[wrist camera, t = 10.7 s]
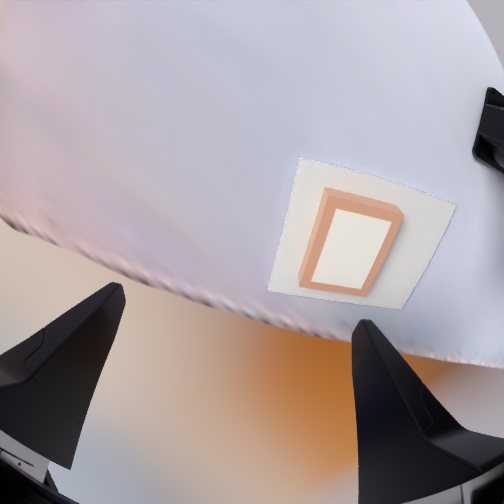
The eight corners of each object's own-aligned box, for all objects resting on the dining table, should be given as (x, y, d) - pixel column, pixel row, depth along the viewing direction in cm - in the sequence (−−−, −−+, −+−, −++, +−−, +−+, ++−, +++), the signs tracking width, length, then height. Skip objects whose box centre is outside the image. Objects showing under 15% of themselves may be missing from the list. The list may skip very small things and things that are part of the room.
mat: (453, 203, 18) (456, 205, 18) (399, 306, 25) (400, 309, 25) (299, 156, 18) (300, 158, 18) (267, 287, 25) (267, 290, 25)
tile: (404, 215, 17) (328, 195, 17) (365, 297, 22) (298, 287, 22) (396, 205, 19) (324, 186, 19) (361, 284, 23) (297, 274, 23)
